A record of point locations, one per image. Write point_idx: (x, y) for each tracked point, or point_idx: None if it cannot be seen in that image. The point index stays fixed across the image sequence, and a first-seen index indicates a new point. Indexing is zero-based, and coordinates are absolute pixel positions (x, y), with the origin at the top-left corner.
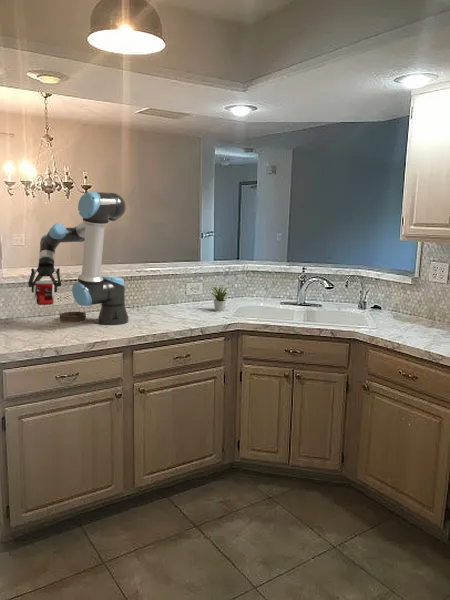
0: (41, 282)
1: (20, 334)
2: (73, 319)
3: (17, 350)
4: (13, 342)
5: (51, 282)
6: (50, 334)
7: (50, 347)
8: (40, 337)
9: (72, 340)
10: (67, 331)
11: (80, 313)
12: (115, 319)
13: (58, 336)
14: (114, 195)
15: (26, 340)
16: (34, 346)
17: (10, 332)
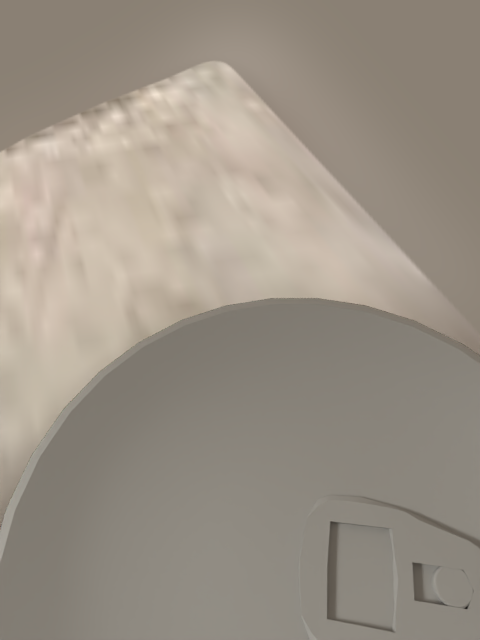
0: (375, 501)
1: (305, 248)
2: None
3: (196, 80)
4: (262, 142)
5: (10, 515)
6: (141, 271)
7: (89, 119)
8: (174, 218)
9: (13, 201)
10: (56, 344)
11: None
12: None
13: (89, 245)
14: None
15: (220, 171)
16: (153, 118)
17: (390, 274)
